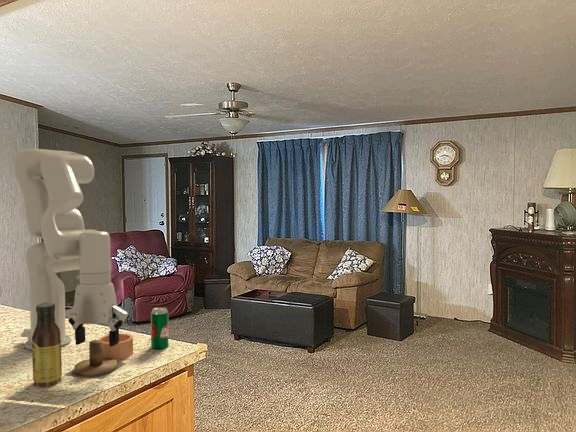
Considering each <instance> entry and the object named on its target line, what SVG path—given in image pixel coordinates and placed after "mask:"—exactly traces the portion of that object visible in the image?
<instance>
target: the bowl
mask: <svg viewBox="0 0 576 432" xmlns="http://www.w3.org/2000/svg"><path fill="white" fill-rule="evenodd" d="M98 340H102V347H103V357H105V358H113V359H115V360H117V361H120V360H124V359H127V358H130V357H132V356H133V354H134V335H132V334H129V333H120V332H119V341H118V344H116V345H114V346H112V347H110V346H109V334H107V335H103V336H101V337H99V338H98Z"/></svg>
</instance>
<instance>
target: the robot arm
mask: <svg viewBox="0 0 576 432" xmlns="http://www.w3.org/2000/svg"><path fill="white" fill-rule="evenodd" d="M13 170H14V171H13V172H14V176H15V179H16V182H17V184H18V186H19V188H20V191H21V193H22V196H23V197H22V198H23V204H24V211H25V219H26V225H27V231H28V233H29V235H30V236H31V237H32V238H35V239H36V238H37V239H42V240H43V241H40V242H37V243H34V244H31V245H30V246H29V247H28V248H27V249H26V251H25V264H26V269H27V273H28V282H29V311H30V312H29V314H30V315H29V316H30V328H24V329H23V332H21V333H20V337H21V338H27V341H26V342H25V343H24V348H25V349H26V350H30V351H32V336H33V333H34V331H35V328H36V325H37V311H36V306H37V305H38V304H41V303H54V304H55V310H54V318H55V321H54V322H55V323H56V325H57V326H58V327H59V329H60V340H61V348H62V347H65V346H68V345H69V344H71V342H72V338H71V336H69V335H67V334H66V317H67V319H68V323H69V324H70V325H71V326H72V329H73V330H74V339H75V345H76V346H77V345H78V346H79V345H81V344H83V343H84V342H86V328H85V326H84V325H107V326H108V328H109V329H110V330H109V331H108V335H109V346H110V347H112V346H114V345H116V344H118V341H119V334H120V330H119V329H121V328H122V326H123V325H124V324H125V323H126V319H127V318H128V316H129V313H128V312H127V311H126V310H124V309H121V308H120V307H118V304H117V295H116V289H115V285H114V283H113V282H112V272H111V271H112V269H111V266H112V265H111V237H110V234H109V232H108V231H103V230H102V231H100V230H99V231H98V230H96V229H86V228H85V222H84V218H83V215H82V213H81V212H80V211H79V210H78V209H77V208H78V207H80V205H82V203H83V201H84V195H83V191H82V189H81V186H80V184H84V185H85V184H89V183H91V182H92V181H93V180H94V178H95V166H94V164H93V162H92V160H91V159H90V158H89V157H88V156H86V155H83V154H80V153H77V152H74V151H67V150H55V149H54V150H53V149H46V148H45V149H43V148H27V149H22V150H19V151H18V152H17V153H16V154H15V156H14V160H13ZM77 270H79V274H76V277H75V278H76V279H77V280H79V284H76V287H75V293H74V299H73V300H74V301H73V307H72V308H70V309H68V310H66V287H65V284H64V282H63V281H62V280H61V278H60V277H58V275H57V273H61V272H69V271H77ZM118 316H119V318H117V317H118Z"/></svg>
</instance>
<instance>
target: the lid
mask: <svg viewBox="0 0 576 432" xmlns="http://www.w3.org/2000/svg"><path fill="white" fill-rule="evenodd" d="M88 345H89V348H88V349H89V350H88V351H89V353H88V354H89V359H85V360H82V361H79V362H78V363H76V364H75V365H74V368H73V369H74V372H75V374H77V375H79V376H88V377H89V376H99V375H104V374H107V373H110V372H112V371H114V370H115V369H116V368H117V362H118V360H115V359H113V358H105V357H103V347H102V340H99V339H93V340H90V341H89V343H88ZM114 372H115V371H114ZM88 377H87V378H88Z"/></svg>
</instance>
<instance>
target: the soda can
mask: <svg viewBox="0 0 576 432" xmlns="http://www.w3.org/2000/svg"><path fill="white" fill-rule="evenodd" d="M169 345H170V344H169V311H168V308H167V307H155V308H152V309H151V313H150V348H151V349H152V350H156V351H159V350H165V349H168V347H169Z"/></svg>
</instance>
